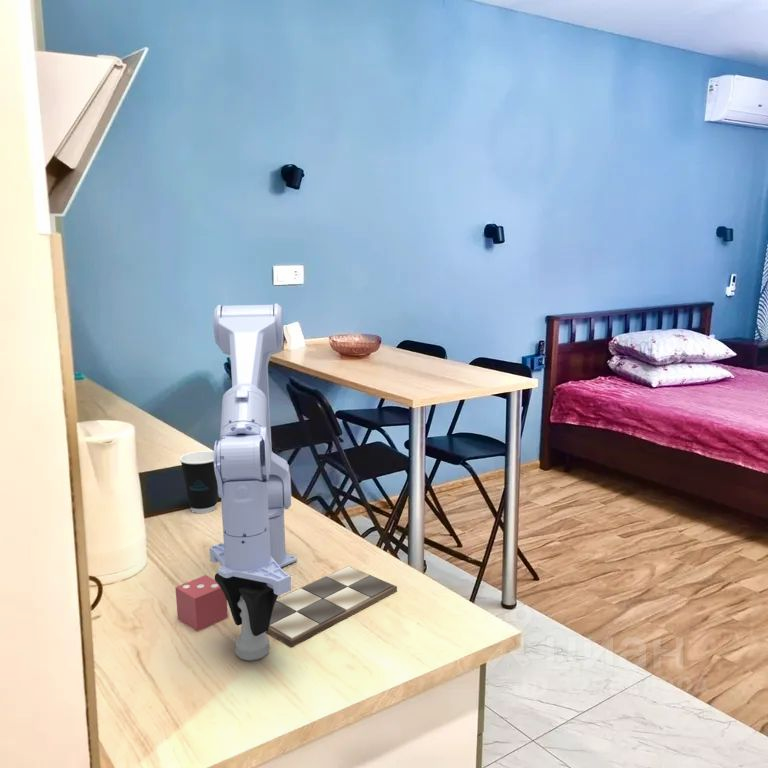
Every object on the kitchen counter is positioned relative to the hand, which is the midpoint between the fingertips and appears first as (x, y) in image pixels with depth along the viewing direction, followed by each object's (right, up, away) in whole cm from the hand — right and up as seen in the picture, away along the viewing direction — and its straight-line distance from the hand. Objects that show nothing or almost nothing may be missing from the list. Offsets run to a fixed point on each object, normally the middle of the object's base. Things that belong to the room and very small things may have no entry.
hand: (251, 627), depth 93 cm
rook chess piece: (0, -4, +1) cm, 4 cm away
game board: (+8, -1, +13) cm, 15 cm away
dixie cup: (-19, +6, +52) cm, 55 cm away
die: (-9, -2, +9) cm, 13 cm away
